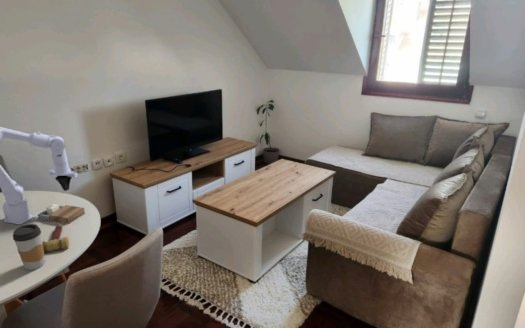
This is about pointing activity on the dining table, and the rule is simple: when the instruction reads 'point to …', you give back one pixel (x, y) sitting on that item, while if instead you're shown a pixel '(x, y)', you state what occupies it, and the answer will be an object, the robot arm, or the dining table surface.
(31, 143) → the robot arm
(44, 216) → the tray
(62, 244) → the gavel
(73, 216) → the board
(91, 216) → the dining table surface
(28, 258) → the coffee cup
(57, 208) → the tile block
